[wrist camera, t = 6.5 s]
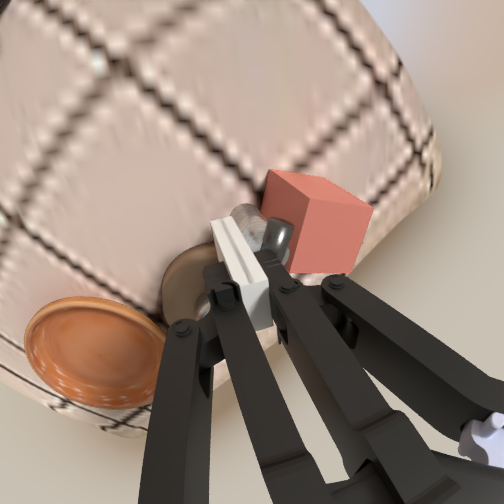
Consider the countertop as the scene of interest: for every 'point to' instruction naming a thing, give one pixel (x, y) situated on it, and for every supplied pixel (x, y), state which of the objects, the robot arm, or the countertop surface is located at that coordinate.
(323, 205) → the block
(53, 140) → the countertop surface
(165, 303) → the hub plate
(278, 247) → the crank
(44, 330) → the saucer
